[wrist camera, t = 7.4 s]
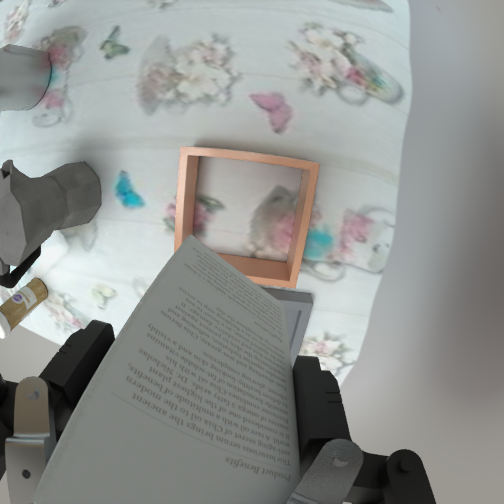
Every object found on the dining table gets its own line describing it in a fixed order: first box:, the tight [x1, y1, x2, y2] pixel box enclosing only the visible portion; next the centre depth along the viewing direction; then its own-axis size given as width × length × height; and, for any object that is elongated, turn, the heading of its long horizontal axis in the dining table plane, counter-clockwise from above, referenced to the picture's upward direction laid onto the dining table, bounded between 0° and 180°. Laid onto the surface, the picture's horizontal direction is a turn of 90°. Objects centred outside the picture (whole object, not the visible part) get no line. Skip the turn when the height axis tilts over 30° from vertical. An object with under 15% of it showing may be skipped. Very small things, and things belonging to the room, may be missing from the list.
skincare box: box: [33, 235, 301, 504], centre depth 8 cm, size 6×4×12 cm
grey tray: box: [262, 288, 313, 369], centre depth 38 cm, size 16×16×2 cm
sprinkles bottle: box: [0, 278, 48, 339], centre depth 32 cm, size 5×5×14 cm
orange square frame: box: [174, 146, 320, 288], centre depth 30 cm, size 14×14×5 cm
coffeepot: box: [0, 160, 101, 288], centre depth 24 cm, size 15×9×18 cm, turn 155°
